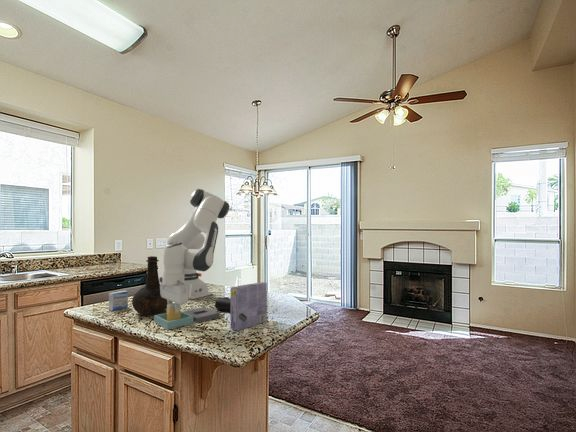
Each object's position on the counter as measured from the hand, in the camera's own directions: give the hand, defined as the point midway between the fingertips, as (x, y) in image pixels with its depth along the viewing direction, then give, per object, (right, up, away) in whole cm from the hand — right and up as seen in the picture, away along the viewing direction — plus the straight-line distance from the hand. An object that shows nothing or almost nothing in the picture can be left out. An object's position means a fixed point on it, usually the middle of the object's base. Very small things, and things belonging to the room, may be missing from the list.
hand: (173, 310), depth 138 cm
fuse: (0, -5, 0) cm, 5 cm away
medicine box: (-38, -7, +25) cm, 46 cm away
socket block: (+9, -6, +9) cm, 14 cm away
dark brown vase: (-17, -6, +17) cm, 25 cm away
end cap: (+20, -7, +20) cm, 29 cm away
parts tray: (0, -6, 0) cm, 6 cm away
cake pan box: (+34, -6, -2) cm, 34 cm away
